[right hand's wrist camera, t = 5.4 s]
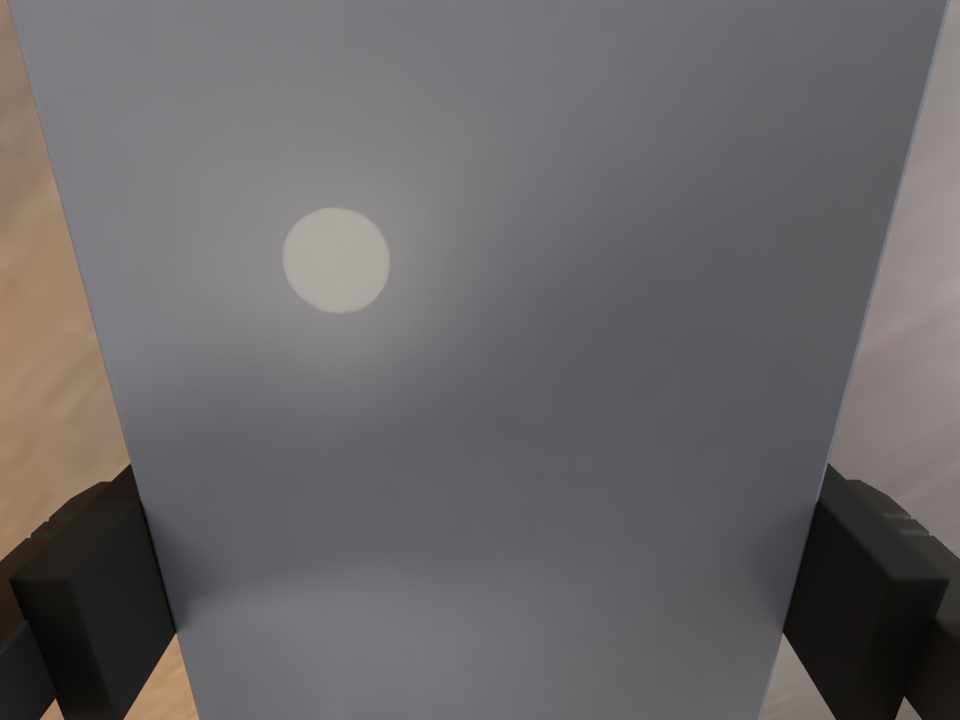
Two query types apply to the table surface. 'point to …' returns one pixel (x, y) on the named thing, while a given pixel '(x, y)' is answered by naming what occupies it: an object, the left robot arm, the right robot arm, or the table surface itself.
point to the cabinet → (479, 329)
